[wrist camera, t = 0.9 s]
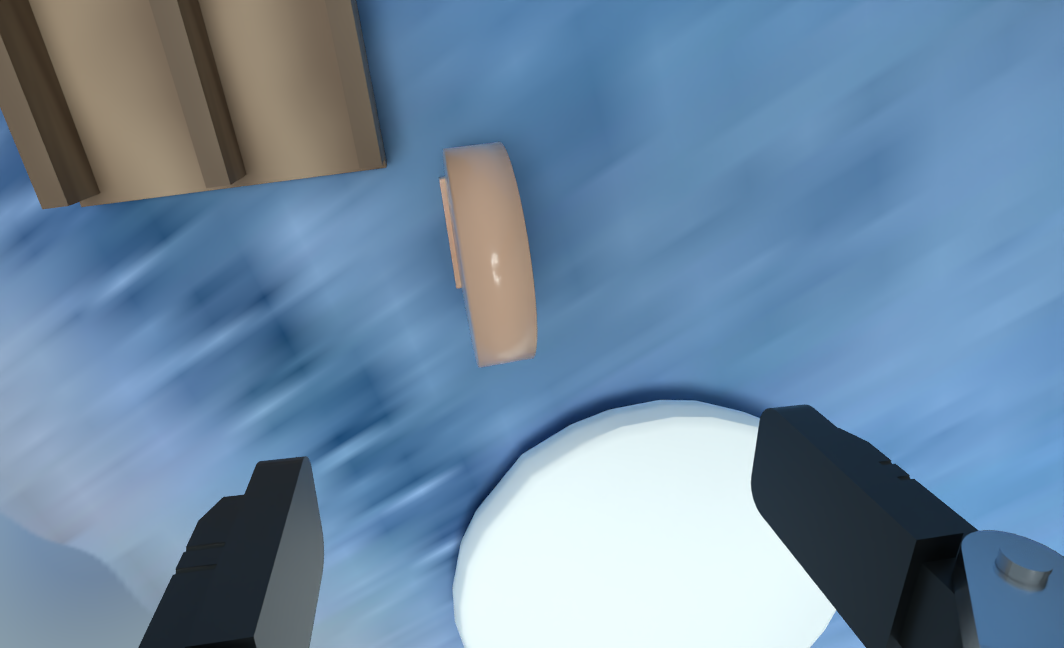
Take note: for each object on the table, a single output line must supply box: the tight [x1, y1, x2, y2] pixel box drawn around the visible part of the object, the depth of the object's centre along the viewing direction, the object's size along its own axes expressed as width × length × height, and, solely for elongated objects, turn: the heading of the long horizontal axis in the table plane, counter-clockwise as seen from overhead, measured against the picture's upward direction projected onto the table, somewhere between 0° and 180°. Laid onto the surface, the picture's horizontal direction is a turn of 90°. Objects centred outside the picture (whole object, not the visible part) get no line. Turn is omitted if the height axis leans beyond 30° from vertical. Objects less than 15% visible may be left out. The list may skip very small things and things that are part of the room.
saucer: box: [439, 142, 537, 368], centre depth 29 cm, size 3×10×11 cm, turn 6°
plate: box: [452, 400, 836, 648], centre depth 42 cm, size 28×6×27 cm
